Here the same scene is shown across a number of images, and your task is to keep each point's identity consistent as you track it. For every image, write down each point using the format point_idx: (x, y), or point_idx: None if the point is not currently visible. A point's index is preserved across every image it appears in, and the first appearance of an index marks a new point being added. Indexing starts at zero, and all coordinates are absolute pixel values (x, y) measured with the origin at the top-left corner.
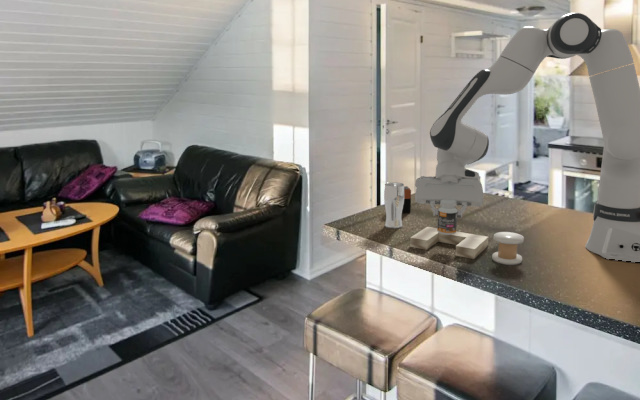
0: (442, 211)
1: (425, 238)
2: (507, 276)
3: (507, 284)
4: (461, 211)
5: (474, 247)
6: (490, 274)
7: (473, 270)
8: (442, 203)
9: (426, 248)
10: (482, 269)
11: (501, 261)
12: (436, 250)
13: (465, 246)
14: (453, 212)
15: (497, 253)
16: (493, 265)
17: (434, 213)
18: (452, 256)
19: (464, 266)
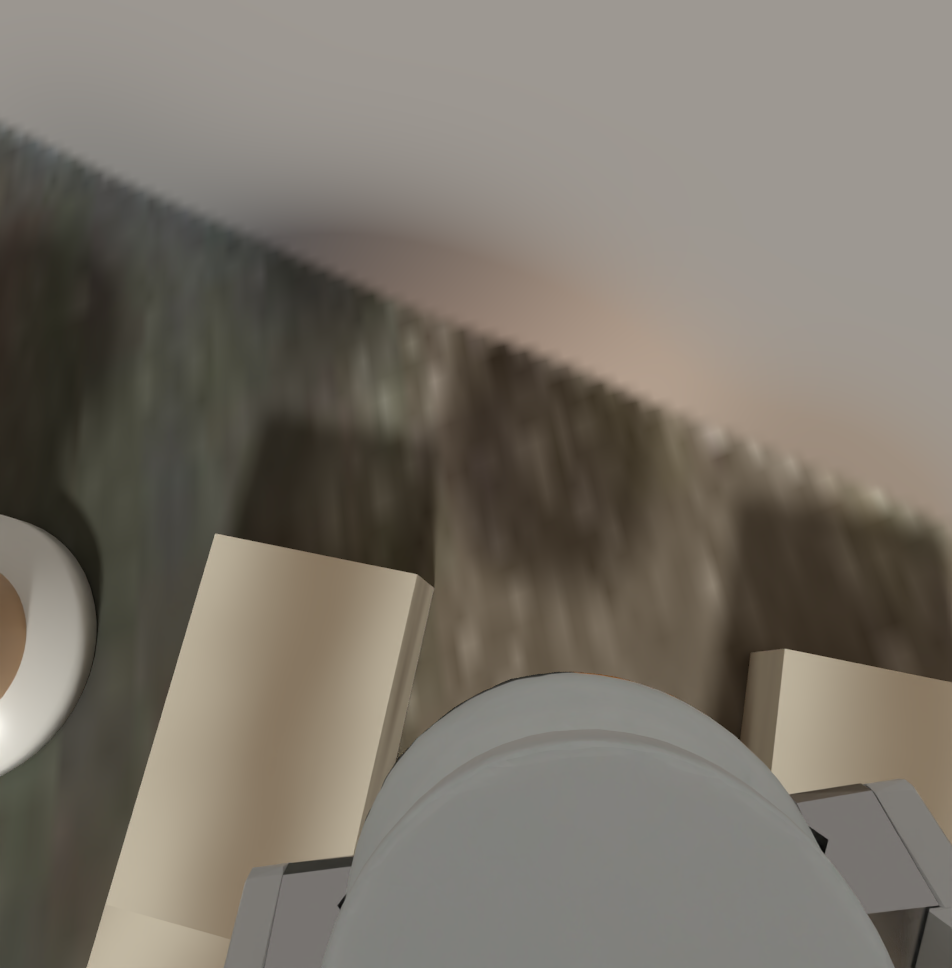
0: (683, 705)
1: (829, 723)
2: (9, 275)
3: (24, 144)
4: (252, 951)
5: (217, 590)
6: (127, 265)
7: (252, 293)
8: (761, 795)
9: (758, 653)
10: (184, 339)
11: (13, 518)
12: (647, 674)
13: (313, 586)
14: (420, 739)
15: (25, 696)
16: (95, 458)
17: (875, 783)
18: (458, 553)
19: (327, 349)
